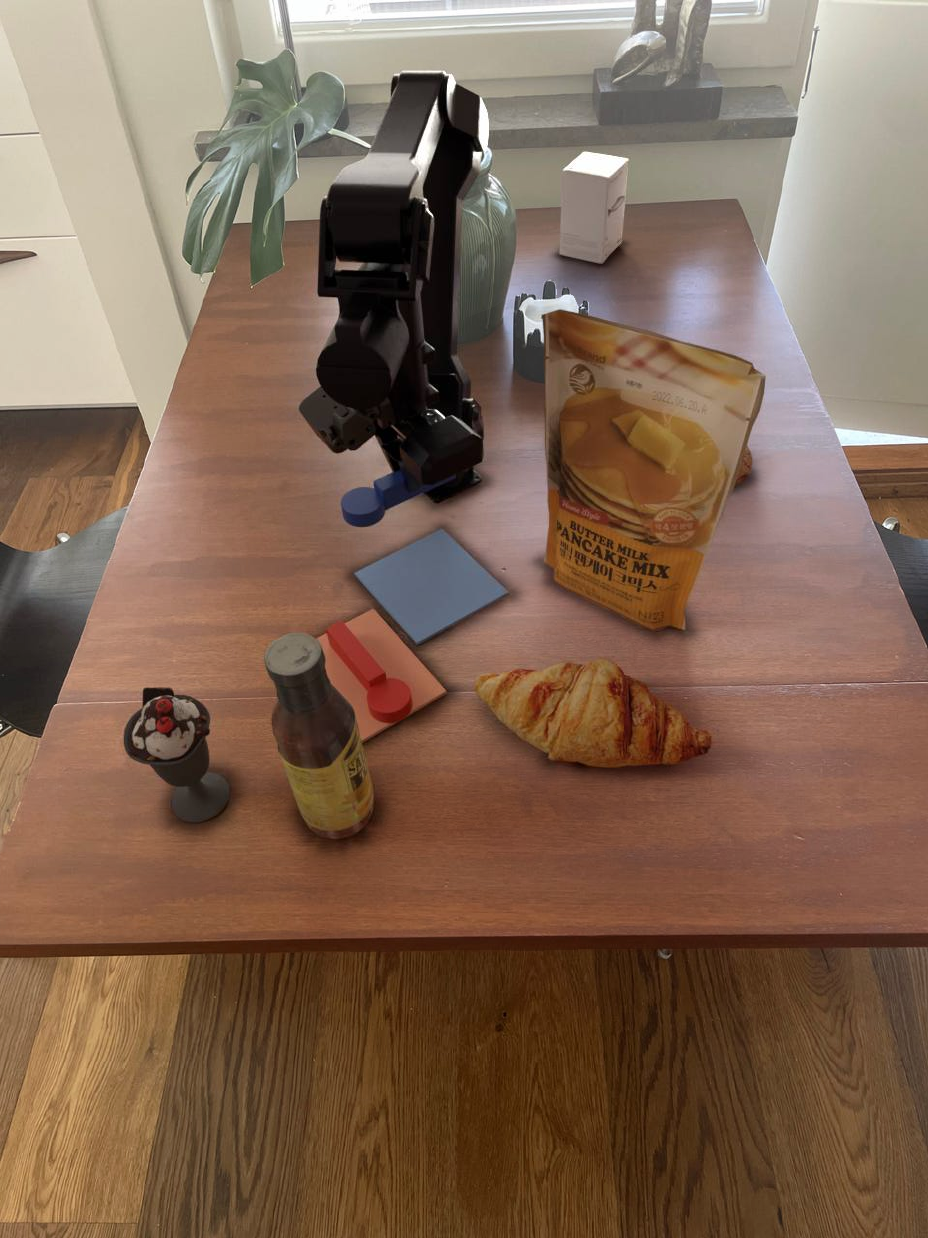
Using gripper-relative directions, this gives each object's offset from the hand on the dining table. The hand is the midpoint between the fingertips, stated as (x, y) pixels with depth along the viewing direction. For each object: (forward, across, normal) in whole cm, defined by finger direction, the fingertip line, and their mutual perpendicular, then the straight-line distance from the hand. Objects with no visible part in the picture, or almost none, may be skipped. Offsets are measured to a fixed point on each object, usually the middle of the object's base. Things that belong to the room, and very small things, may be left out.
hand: (407, 484), depth 88 cm
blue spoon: (+1, 0, 0) cm, 1 cm away
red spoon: (+11, +9, -12) cm, 18 cm away
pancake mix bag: (+11, +15, +14) cm, 23 cm away
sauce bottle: (+11, +20, -20) cm, 31 cm away
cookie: (+11, +5, +35) cm, 37 cm away
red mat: (+11, +9, -12) cm, 19 cm away
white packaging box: (+11, -42, +57) cm, 72 cm away
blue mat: (+11, +3, 0) cm, 12 cm away
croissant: (+11, +26, +2) cm, 28 cm away
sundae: (+11, +13, -30) cm, 34 cm away
